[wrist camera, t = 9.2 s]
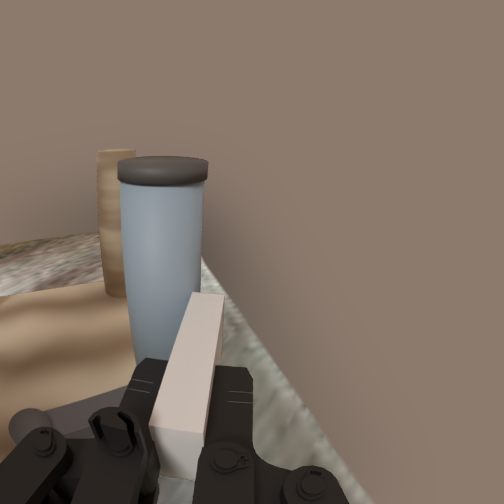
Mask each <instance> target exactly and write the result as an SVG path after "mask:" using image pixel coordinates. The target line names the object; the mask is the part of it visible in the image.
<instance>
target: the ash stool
mask: <svg viewBox="0 0 504 504" xmlns="http://www.w3.org/2000/svg"><path fill="white" fill-rule="evenodd" d="M135 152H136V150H135V149H111V150H101V151H97V200H98V220H99V235H100V247H101V258H102V267H103V276H104V281H99V282H92V283H86V284H80V285H73V286H67V287H60V288H54V289H47V290H41V291H34V292H28V293H21V294H15V295H8V296H2V297H0V463H1V462H2V461H3V460H4V459H5V458H6V457H7V456H8V455H9V453H10V452H11V451H12V450H13V449H14V448H15V447H16V446H17V445H16V443H15V442H14V440H13V439H12V438H11V436H10V434H9V429H8V426H9V422H10V420H11V418H12V417H13V415H14V414H15V413H17V412H18V411H20V410H22V409H26V408H35V409H39V410H41V411H46V410H49V409H53V408H56V407H60V406H63V405H67V404H70V403H73V402H77V401H80V400H83V399H86V398H90V397H93V396H96V395H99V394H102V393H105V392H108V391H111V390H114V389H117V388H120V387H123V386H126V385H128V384H129V381H130V380H131V377H132V374H133V372H134V370H135V367H136V360H135V354H134V348H133V342H132V335H131V328H130V321H129V313H128V305H127V296H126V286H125V276H124V264H123V251H122V234H121V209H120V181H119V180H118V179H117V162H118V161H119V160H123V159H127V158H135V156H136V155H135ZM94 437H95V436H92V437H89V438H94ZM86 439H87V438H86ZM159 474H162V473H161V470H160V472H159Z"/></svg>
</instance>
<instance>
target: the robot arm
mask: <svg viewBox="0 0 504 504" xmlns="http://www.w3.org/2000/svg"><path fill="white" fill-rule="evenodd" d="M224 300H225V295H222V294H211V293H199V292H192V294H191V297H190V300H189V303H188V306H187V308H186V311H185V314H184V317H183V320H182V323H181V326H180V329H179V332H178V334H177V337H176V340H175V343H174V346H173V349H172V352H171V355H170V358H169V361H167V360H160V359H153V358H147V357H146V358H145V359H144V360H143V361H141V362H140V363H139V364H138V365H137V366H136V367H135V370H134V372H133V374H132V377H131V380H130V381H129V384H128V386H127V390H126V391H125V393H124V395H123V398H122V400H121V403H120V405H119V407H112V406H110V407H106V408H101V409H99V410H98V411H96V412H94V413H93V414H92V415H91V416H90V418H89V419H88V423H89V425H90V427H91V429H92V432H93V434H94V436H95V437H94V438H87V439H68V438H65V437H64V436H63V435H62V434H61V433H60V432H59V431H58V430H56V429H54V428H51V427H39V428H36V429H34V430H32V431H31V432H29V433H28V434H27V435H26V436H25V437H24V438H23V439H22V441H21V442H20V443H19V444H18V445H17V446H16V447H15V448H14V449H13V450H12V451H11V452H10V453H9V455H8V456H7V457H6V458H5V459H4V460H3V461H2V462H1V463H0V504H157V500H158V495H159V484H158V482H157V481H158V477H159V472H160V470H161V473H162V476H167V477H173V478H180V479H187V480H195V487H194V495H193V503H192V504H349V502H348V500H347V498H346V496H345V494H344V492H343V490H342V488H341V487H340V485H339V483H338V481H337V479H336V478H335V477H334V475H333V474H332V473H331V472H329V471H327V470H326V469H324V468H321V467H317V466H302V467H300V468H297V469H295V470H293V471H291V470H287V469H283V468H280V467H276V466H273V465H271V464H268V463H267V462H265V461H264V460H262V459H261V458H260V457H259V456H258V455H257V454H256V452H255V450H254V448H253V442H252V428H253V378H252V377H251V375H250V373H249V371H248V370H247V368H244V367H231V366H220V362H221V354H222V342H223V320H224Z"/></svg>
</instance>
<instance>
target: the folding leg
mask: <svg viewBox="0 0 504 504" xmlns="http://www.w3.org/2000/svg"><path fill="white" fill-rule="evenodd" d="M207 175H208V161H207V160H203V159H198V158H191V157H177V156H149V157H148V156H147V157H135V158H127V159H123V160H119V161H118V162H117V179H118V180H119V181H120V209H121V234H122V251H123V264H124V276H125V286H126V296H127V305H128V313H129V321H130V328H131V335H132V342H133V348H134V354H135V360H136V366H137V365H138V364H139V363H140V362H141V361H143V360H144V359H145V358H146V357H147V358H153V359H160V360H167V361H169V358H170V355H171V352H172V349H173V346H174V343H175V340H176V337H177V334H178V332H179V329H180V326H181V323H182V320H183V317H184V314H185V311H186V308H187V306H188V303H189V300H190V297H191V294H192V292H199V293H200V286H201V245H202V220H203V200H204V181H205V180H206V179H207ZM127 386H128V385H126V386H123V387H120V388H117V389H114V390H111V391H108V392H105V393H102V394H99V395H96V396H93V397H90V398H86V399H83V400H80V401H77V402H73V403H70V404H67V405H63V406H60V407H56V408H53V409H49V410H46V411H41V410H39V409H35V408H26V409H22V410H20V411H18V412H17V413H15V414H14V415H13V417H12V418H11V420H10V422H9V426H8V429H9V434H10V436H11V438H12V439H13V440H14V442H15V443H16V445H18V444H19V443H20V442H21V441H22V439H23V438H24V437H25V436H26V435H27V434H28V433H29V432H31V431H32V430H34V429H36V428H39V427H51V428H54V429H56V430H58V431H59V432H60V433H61V434H62V435H63V436H64V437H65V438H68V439H86V438H89V437H92V436H94V434H93V432H92V429H91V427H90V425H89V423H88V419H89V418H90V416H91V415H92V414H93V413H94V412H96V411H98V410H99V409H101V408H106V407H110V406H112V407H119V405H120V403H121V400H122V398H123V395H124V393H125V391H126V390H127Z"/></svg>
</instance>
